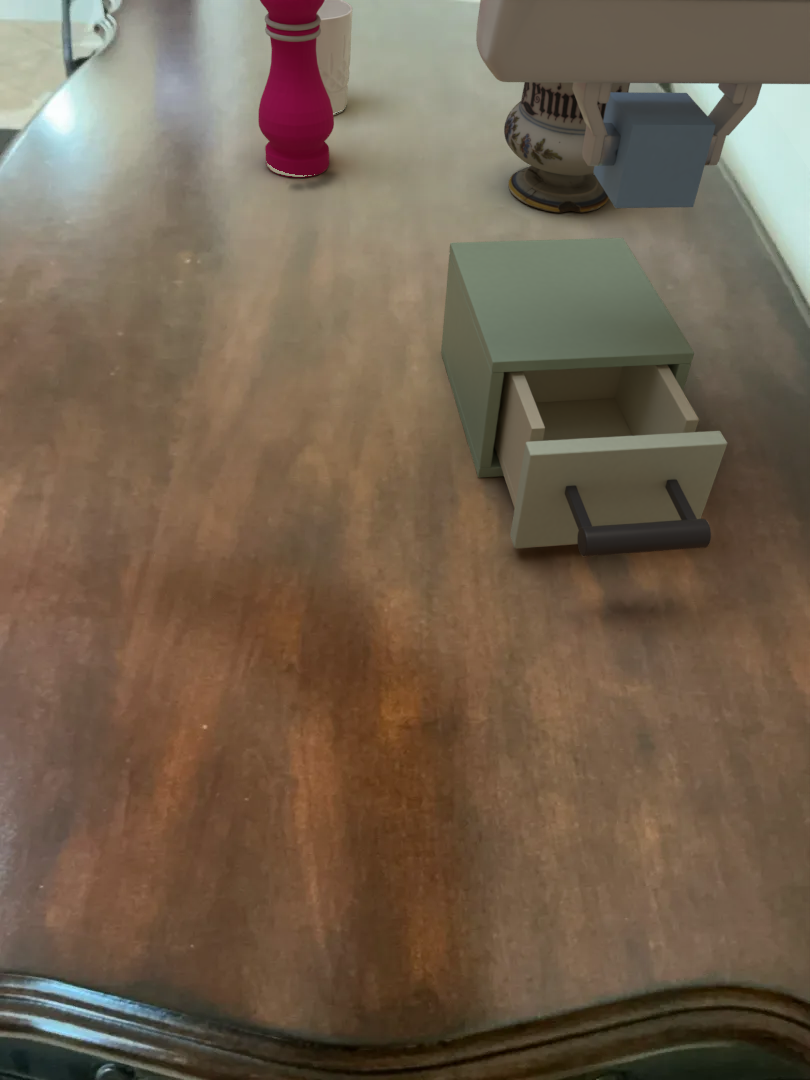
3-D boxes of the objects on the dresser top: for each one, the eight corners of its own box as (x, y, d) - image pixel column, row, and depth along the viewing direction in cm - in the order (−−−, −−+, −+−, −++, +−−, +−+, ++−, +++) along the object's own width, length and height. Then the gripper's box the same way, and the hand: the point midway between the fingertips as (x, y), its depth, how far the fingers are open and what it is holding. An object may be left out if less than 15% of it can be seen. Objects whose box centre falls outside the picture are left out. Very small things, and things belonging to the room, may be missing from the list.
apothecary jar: (517, 223, 90) (546, 10, 77) (483, 167, 98) (504, -34, 85) (639, 216, 92) (687, 7, 79) (596, 162, 100) (633, -35, 88)
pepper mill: (293, 143, 100) (284, -82, 86) (348, 163, 97) (349, -67, 83) (245, 166, 96) (228, -67, 82) (302, 187, 93) (295, -51, 79)
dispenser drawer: (725, 596, 56) (764, 503, 51) (533, 612, 55) (553, 517, 49) (628, 403, 69) (651, 313, 64) (471, 411, 67) (481, 320, 62)
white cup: (359, 117, 106) (360, 17, 99) (288, 122, 104) (284, 20, 97) (342, 90, 111) (342, -7, 104) (274, 94, 109) (269, -4, 102)
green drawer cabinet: (660, 466, 66) (695, 352, 59) (477, 478, 64) (493, 361, 57) (599, 345, 76) (623, 237, 69) (440, 352, 74) (450, 242, 68)
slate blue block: (667, 172, 57) (686, 92, 53) (693, 207, 53) (716, 125, 50) (592, 172, 56) (608, 91, 53) (615, 208, 53) (633, 124, 50)
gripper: (896, -146, 47) (800, 138, 57) (486, -162, 45) (459, 138, 54) (965, -117, 43) (849, 185, 53) (516, -133, 40) (480, 188, 50)
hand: (648, 161), depth 54 cm, fingers closed on slate blue block, 4 cm apart
